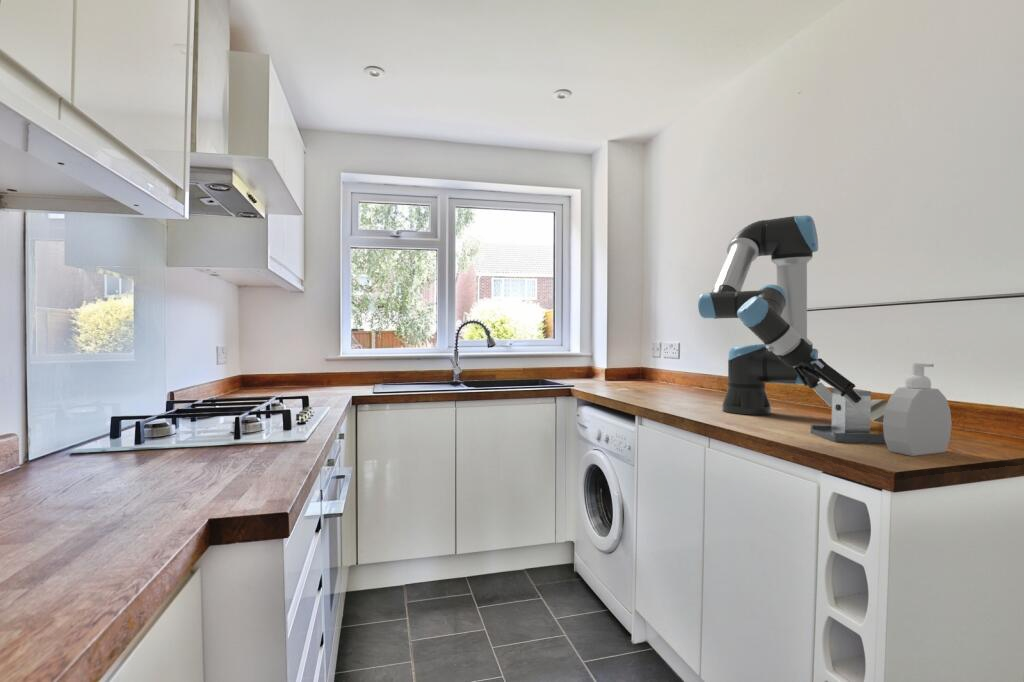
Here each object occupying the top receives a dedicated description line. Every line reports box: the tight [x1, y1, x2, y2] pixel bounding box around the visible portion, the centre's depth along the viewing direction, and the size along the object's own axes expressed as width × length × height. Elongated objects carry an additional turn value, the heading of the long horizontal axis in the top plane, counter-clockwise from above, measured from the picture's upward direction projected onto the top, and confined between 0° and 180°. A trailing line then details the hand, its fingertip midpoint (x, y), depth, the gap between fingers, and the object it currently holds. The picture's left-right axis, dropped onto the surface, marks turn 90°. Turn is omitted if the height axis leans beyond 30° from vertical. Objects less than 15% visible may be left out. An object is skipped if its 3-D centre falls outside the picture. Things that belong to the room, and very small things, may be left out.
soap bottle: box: [883, 362, 953, 457], centre depth 111 cm, size 16×5×20 cm, turn 111°
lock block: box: [831, 388, 872, 433], centre depth 127 cm, size 6×6×11 cm
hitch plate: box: [810, 420, 887, 445], centre depth 127 cm, size 12×14×4 cm
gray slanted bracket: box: [830, 398, 888, 424], centre depth 144 cm, size 16×9×15 cm
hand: (849, 406), depth 127 cm, fingers open, 13 cm apart
